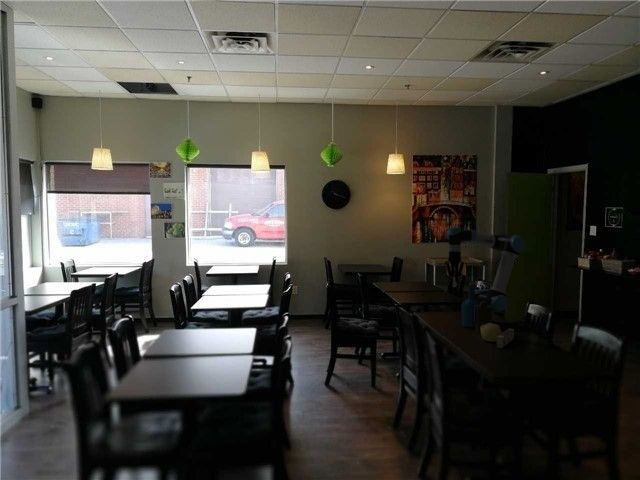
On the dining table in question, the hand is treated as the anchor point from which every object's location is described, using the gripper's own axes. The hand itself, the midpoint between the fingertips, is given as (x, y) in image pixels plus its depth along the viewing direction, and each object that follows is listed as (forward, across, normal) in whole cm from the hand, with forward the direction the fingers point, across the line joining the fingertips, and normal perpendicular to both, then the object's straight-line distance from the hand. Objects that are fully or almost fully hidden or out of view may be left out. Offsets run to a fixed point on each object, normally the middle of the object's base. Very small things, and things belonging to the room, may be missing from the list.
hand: (454, 286), depth 301 cm
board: (+29, +35, -10) cm, 47 cm away
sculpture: (+30, +27, -10) cm, 41 cm away
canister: (+30, +16, +7) cm, 34 cm away
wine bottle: (+30, +4, +20) cm, 36 cm away
